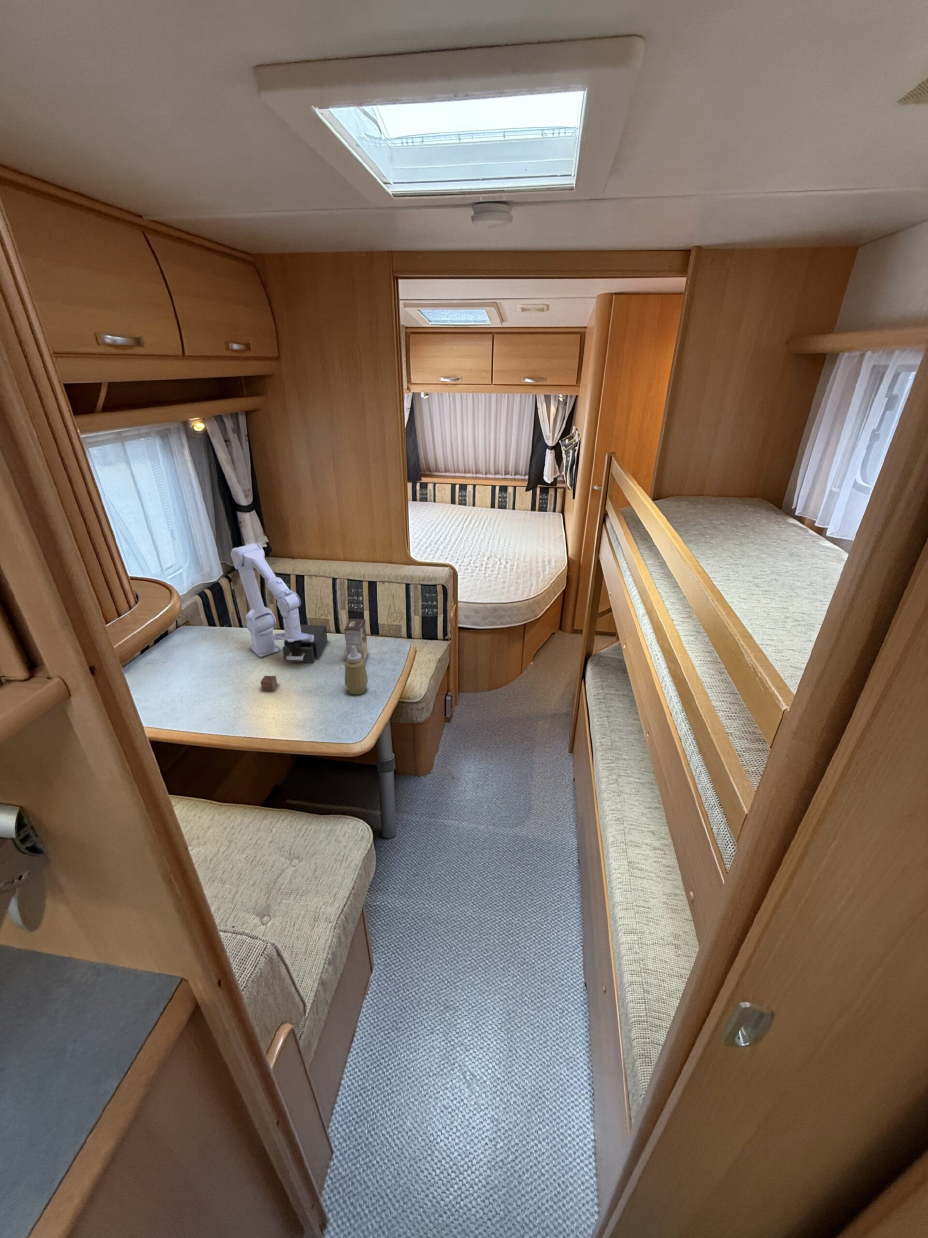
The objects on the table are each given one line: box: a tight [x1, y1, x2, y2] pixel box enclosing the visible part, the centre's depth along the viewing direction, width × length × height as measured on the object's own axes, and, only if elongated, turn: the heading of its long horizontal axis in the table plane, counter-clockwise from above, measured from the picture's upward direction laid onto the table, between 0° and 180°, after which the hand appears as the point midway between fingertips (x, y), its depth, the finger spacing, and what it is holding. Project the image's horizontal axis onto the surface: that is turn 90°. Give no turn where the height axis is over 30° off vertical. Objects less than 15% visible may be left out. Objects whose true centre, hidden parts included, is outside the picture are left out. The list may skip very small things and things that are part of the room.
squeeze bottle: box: [344, 646, 369, 696], centre depth 173 cm, size 8×8×18 cm
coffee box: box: [344, 618, 369, 663], centre depth 192 cm, size 9×6×16 cm
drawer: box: [282, 644, 315, 663], centre depth 194 cm, size 18×11×6 cm, turn 179°
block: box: [260, 675, 278, 692], centre depth 175 cm, size 4×4×4 cm
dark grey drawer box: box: [283, 624, 329, 660], centre depth 200 cm, size 15×13×8 cm
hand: (296, 656), depth 188 cm, fingers closed, pressing on drawer
